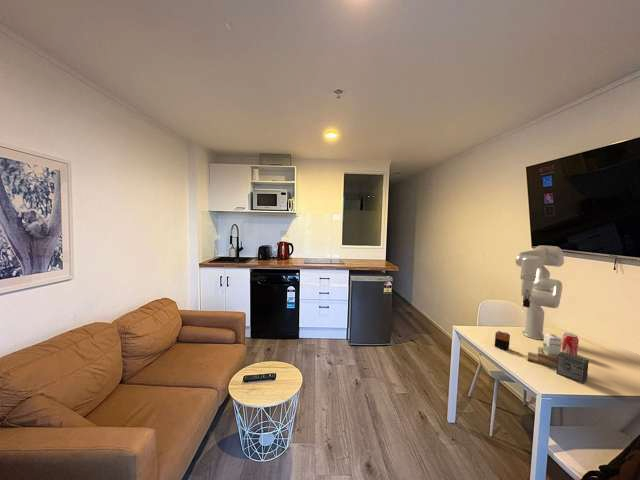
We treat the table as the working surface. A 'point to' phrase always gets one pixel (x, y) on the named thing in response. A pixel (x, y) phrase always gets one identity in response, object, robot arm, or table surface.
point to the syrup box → (551, 345)
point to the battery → (502, 340)
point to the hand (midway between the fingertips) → (526, 304)
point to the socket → (543, 358)
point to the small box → (572, 367)
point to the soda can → (570, 343)
